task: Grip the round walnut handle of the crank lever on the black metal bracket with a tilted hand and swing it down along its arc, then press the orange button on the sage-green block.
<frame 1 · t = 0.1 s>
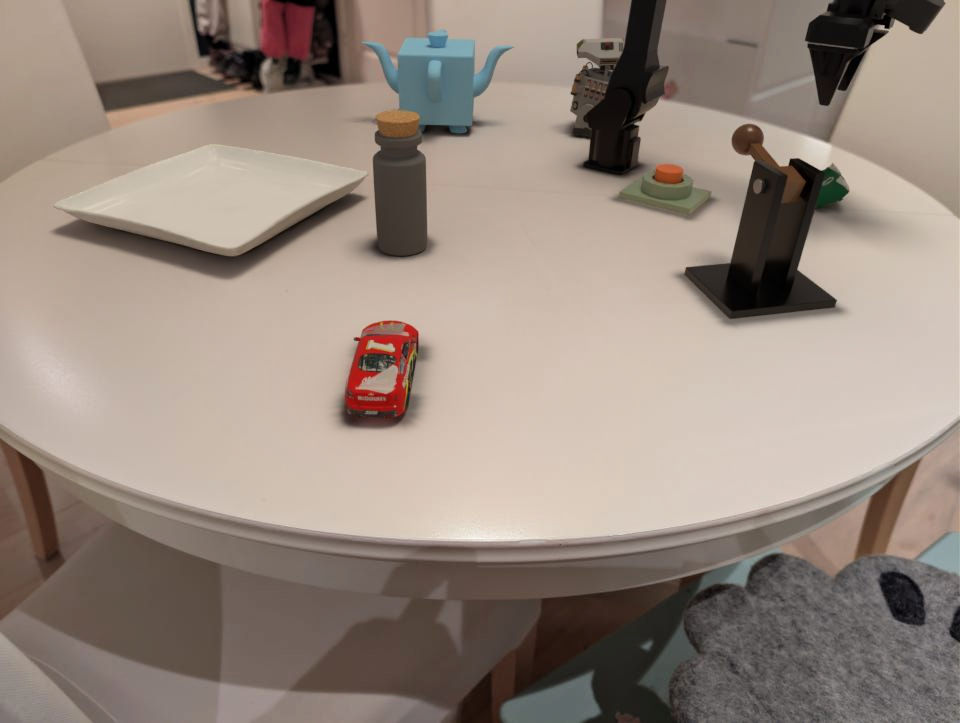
hand: (833, 97, 91), 15 cm above the table, tool pointing down, fingers open, 9 cm apart
figurine: (601, 133, 127), on the table
teakettle: (438, 123, 129), on the table
square plate: (225, 214, 94), on the table
green carton: (816, 201, 102), on the table
bracket: (756, 292, 79), on the table
bottle: (402, 247, 87), on the table
button block: (664, 199, 101), on the table
button: (668, 174, 99), point 3 cm above the table, slide at 0.1 cm
race car: (384, 380, 64), on the table
lever: (764, 160, 75), point 13 cm above the table, hinge at 15.0°
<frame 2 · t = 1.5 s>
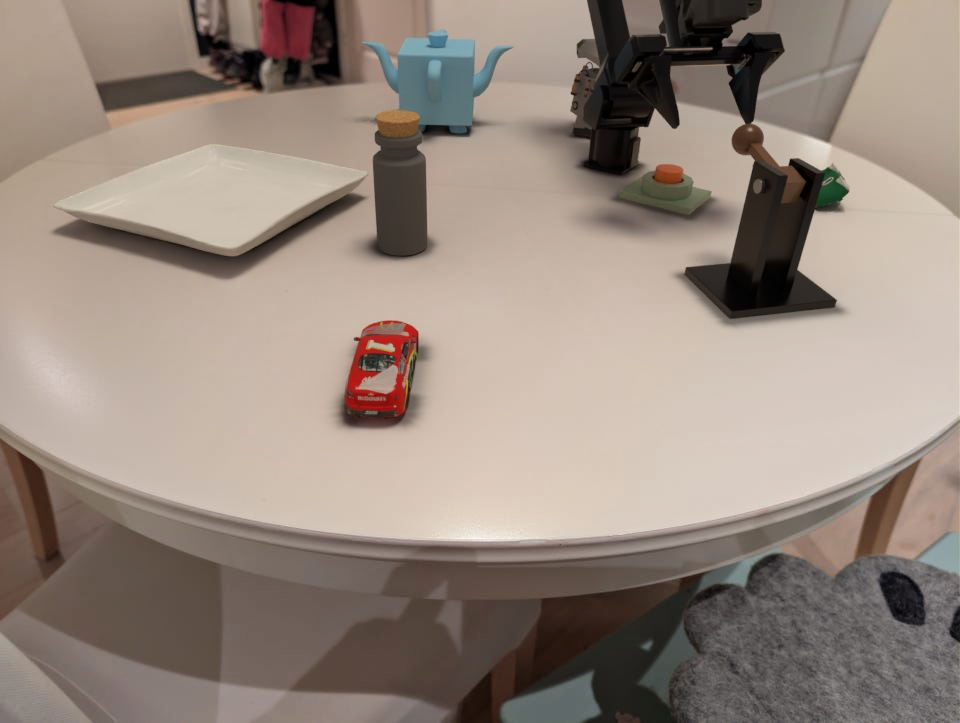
hand: (713, 125, 84), 14 cm above the table, tool tilted 45°, fingers open, 9 cm apart
nothing on the table moved.
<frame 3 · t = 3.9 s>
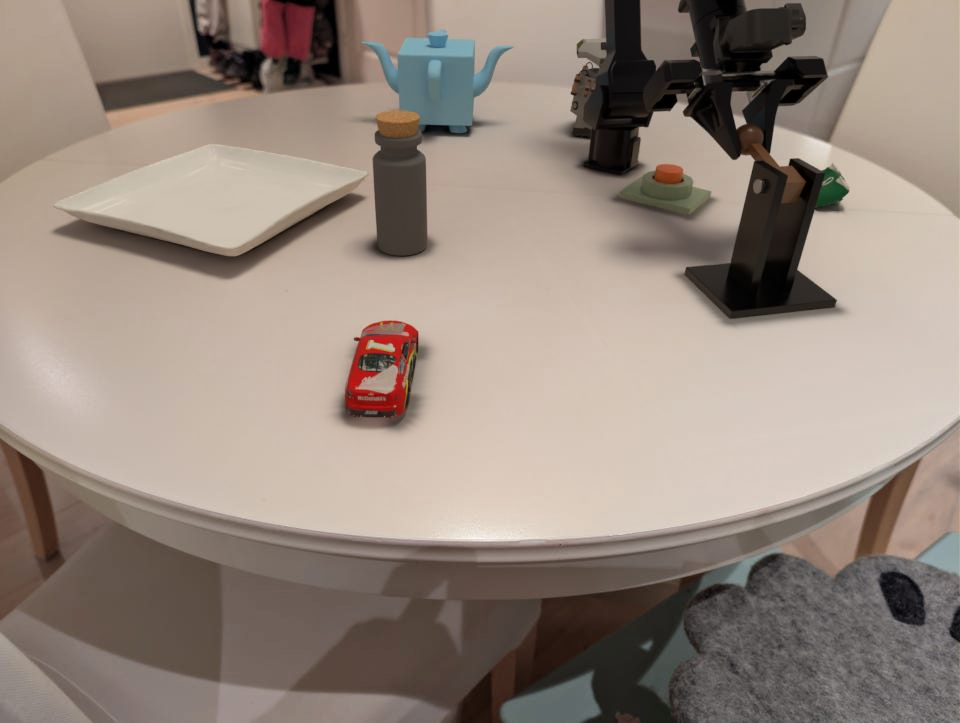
hand: (751, 157, 77), 13 cm above the table, tool tilted 45°, fingers closed on lever, 3 cm apart
lever: (764, 160, 75), point 13 cm above the table, hinge at 15.0°, touching gripper
everything else where it was.
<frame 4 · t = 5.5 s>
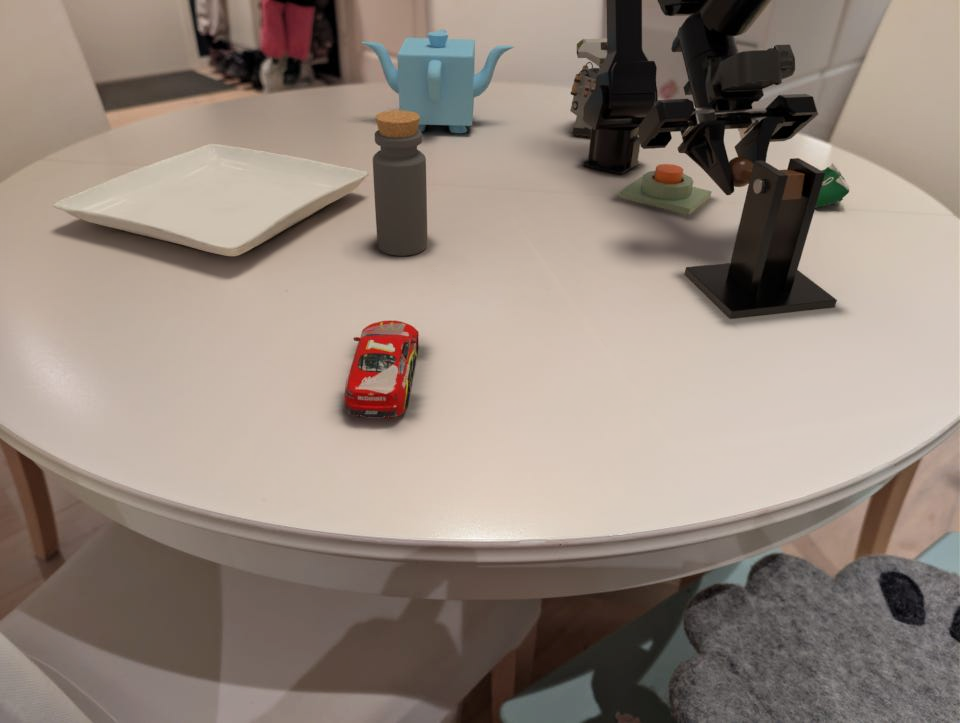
hand: (744, 192, 79), 9 cm above the table, tool tilted 45°, fingers closed on lever, 3 cm apart
lever: (760, 177, 76), point 11 cm above the table, hinge at -10.4°, touching gripper
everything else where it was.
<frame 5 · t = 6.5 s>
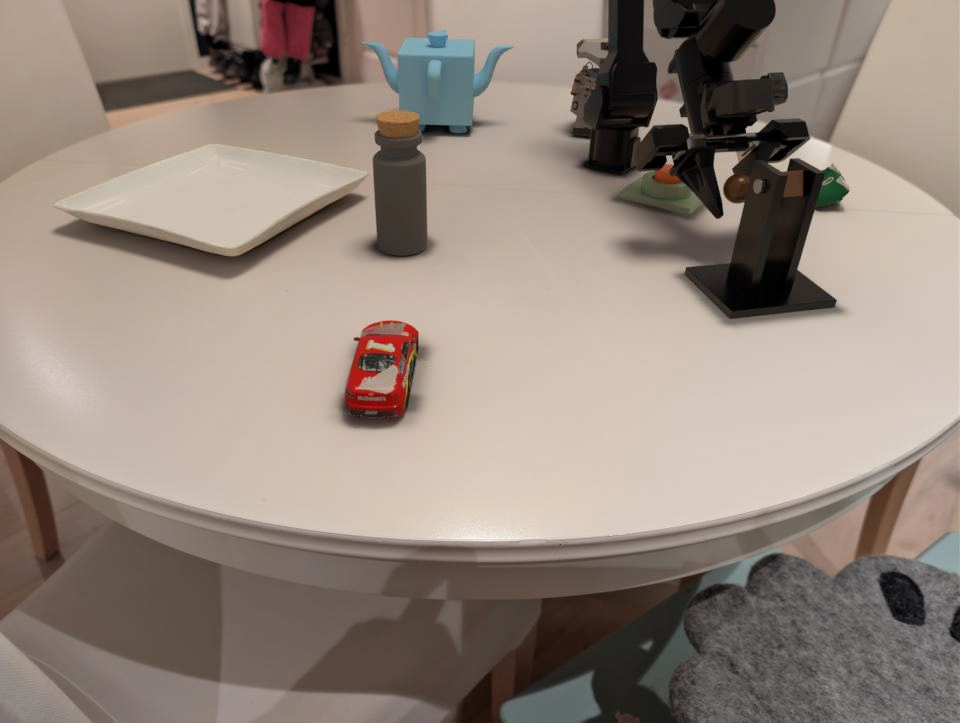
hand: (737, 216, 81), 6 cm above the table, tool tilted 45°, fingers open, 4 cm apart
lever: (759, 186, 76), point 10 cm above the table, hinge at -23.0°
everything else where it was.
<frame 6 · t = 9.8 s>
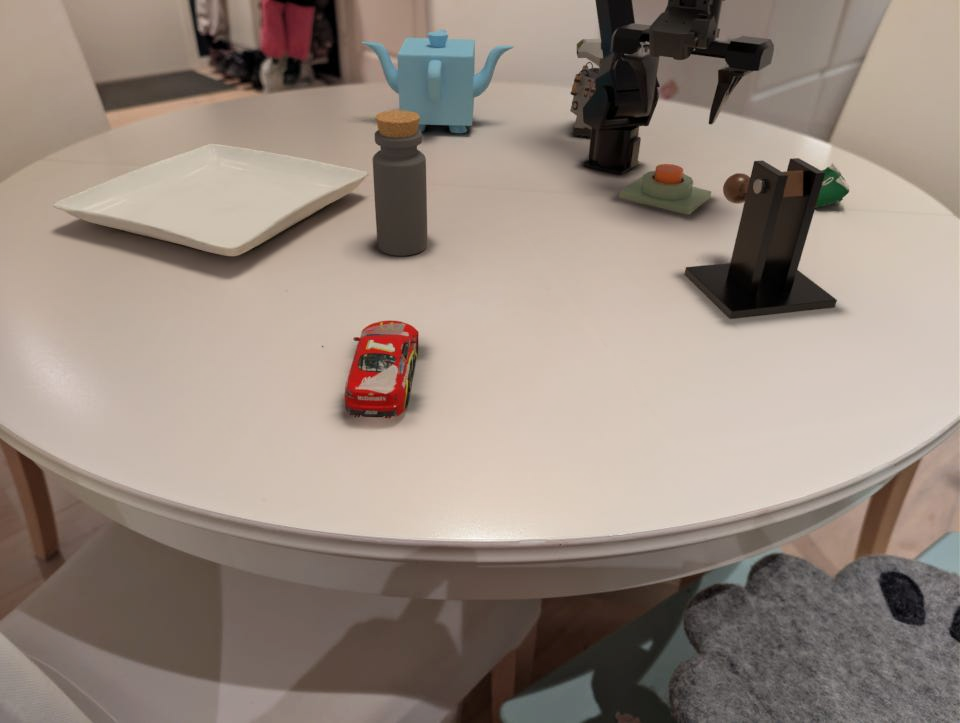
hand: (678, 118, 95), 11 cm above the table, tool pointing down, fingers open, 8 cm apart
nothing on the table moved.
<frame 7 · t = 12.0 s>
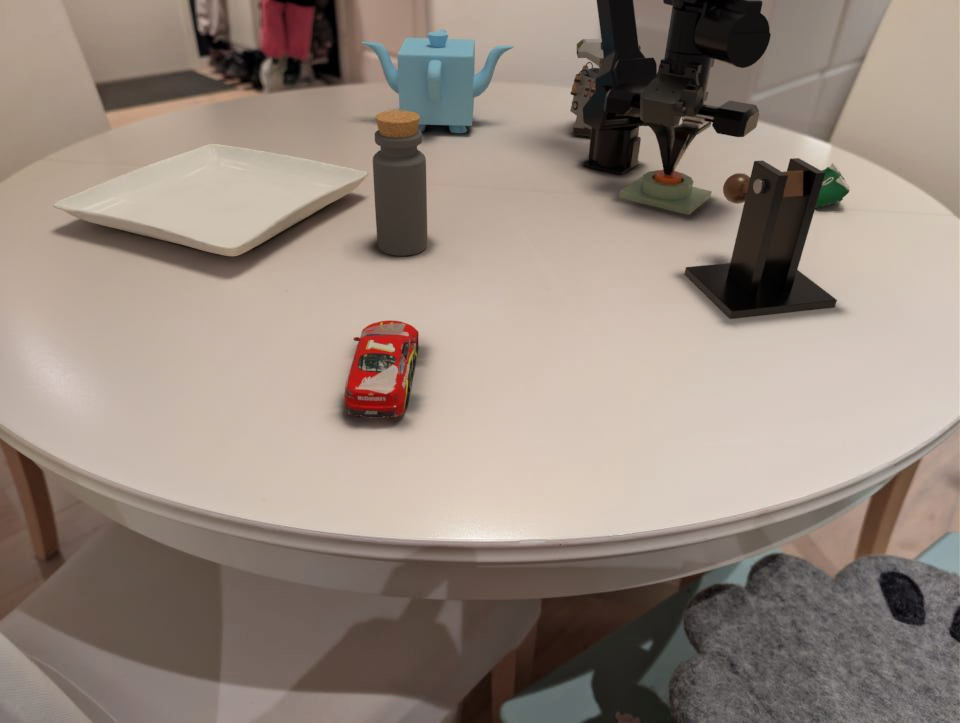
hand: (668, 174, 99), 4 cm above the table, tool pointing down, fingers closed, pressing on button
button: (667, 180, 100), point 3 cm above the table, slide at -0.7 cm, touching gripper
everything else where it was.
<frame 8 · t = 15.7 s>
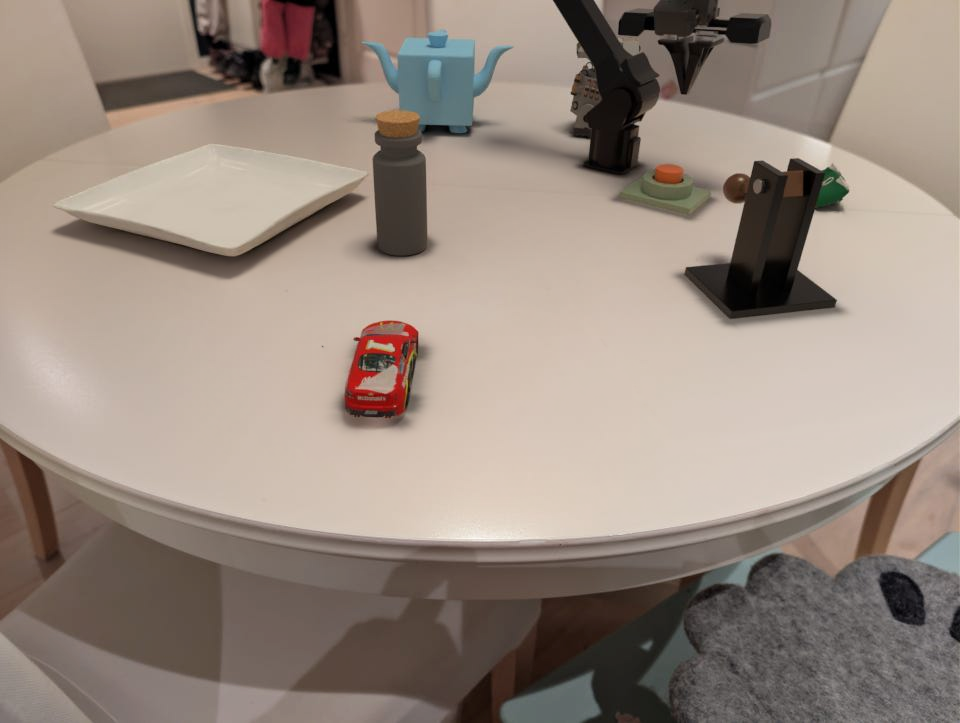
hand: (684, 94, 101), 12 cm above the table, tool pointing down, fingers closed
button: (668, 174, 99), point 3 cm above the table, slide at 0.1 cm
everything else where it was.
at the end: lever at -23° (first picture: +15°); button pushed in 1.2 cm at the most during the clip, back to where it started at the end; button slide at 0.1 cm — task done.
